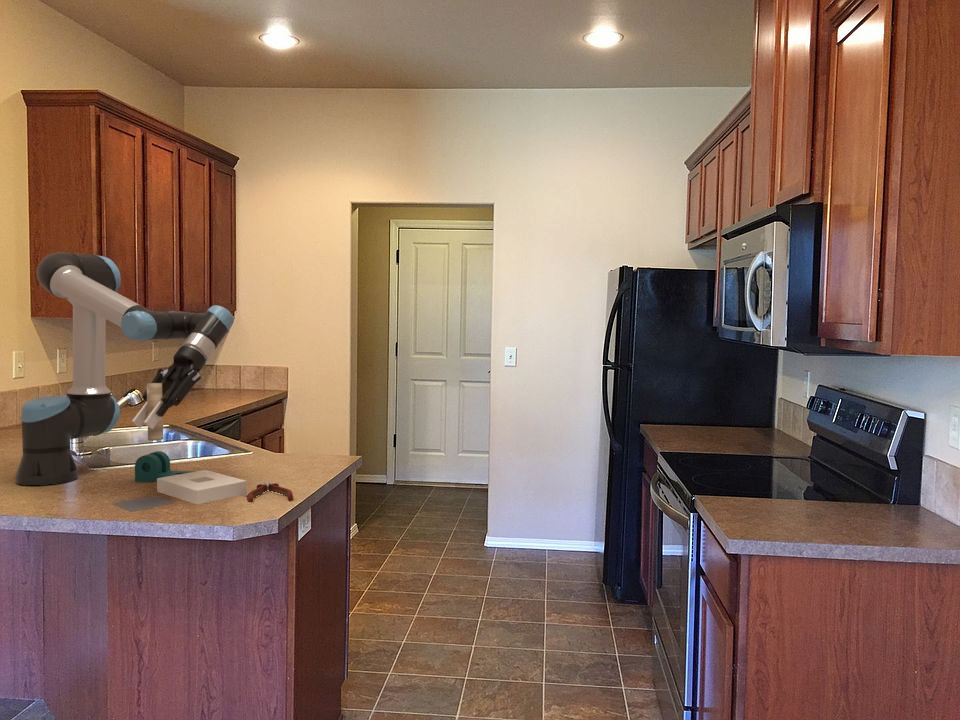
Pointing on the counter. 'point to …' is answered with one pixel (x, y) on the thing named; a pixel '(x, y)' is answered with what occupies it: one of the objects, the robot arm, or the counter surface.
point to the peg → (152, 400)
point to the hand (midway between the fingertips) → (142, 424)
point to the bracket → (154, 467)
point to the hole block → (201, 486)
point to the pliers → (270, 487)
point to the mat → (143, 503)
